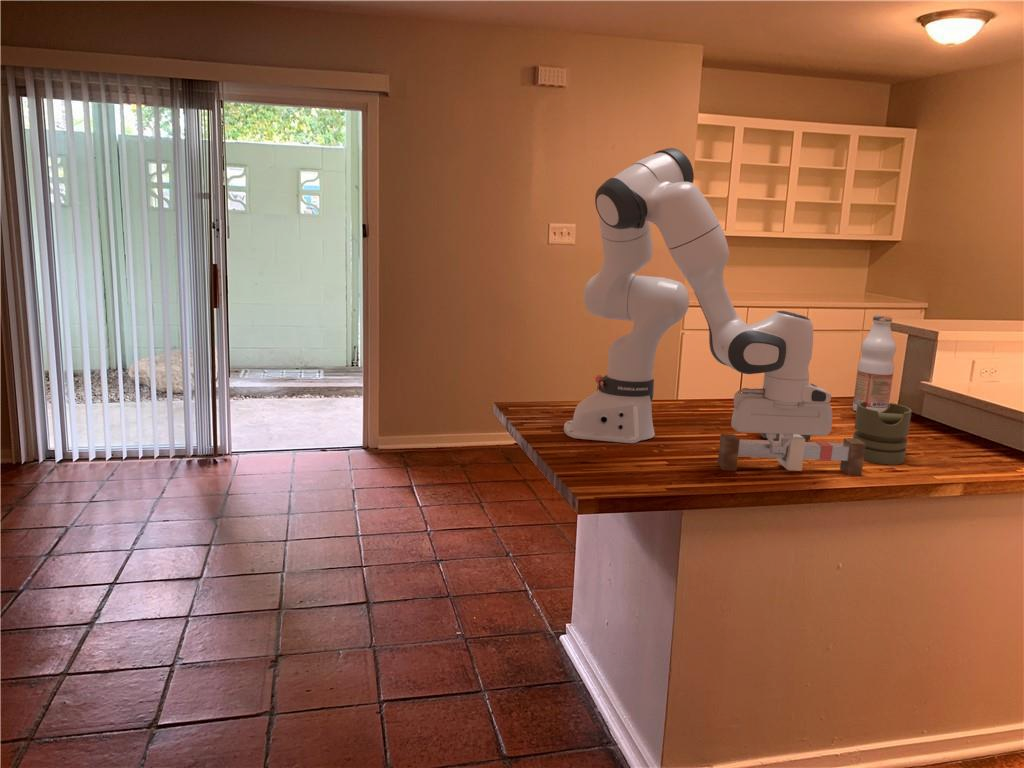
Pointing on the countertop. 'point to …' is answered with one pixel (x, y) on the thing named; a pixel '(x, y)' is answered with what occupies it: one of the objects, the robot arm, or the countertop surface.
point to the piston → (883, 433)
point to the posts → (850, 467)
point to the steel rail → (811, 450)
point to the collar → (793, 453)
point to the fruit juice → (876, 366)
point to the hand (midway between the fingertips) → (777, 453)
